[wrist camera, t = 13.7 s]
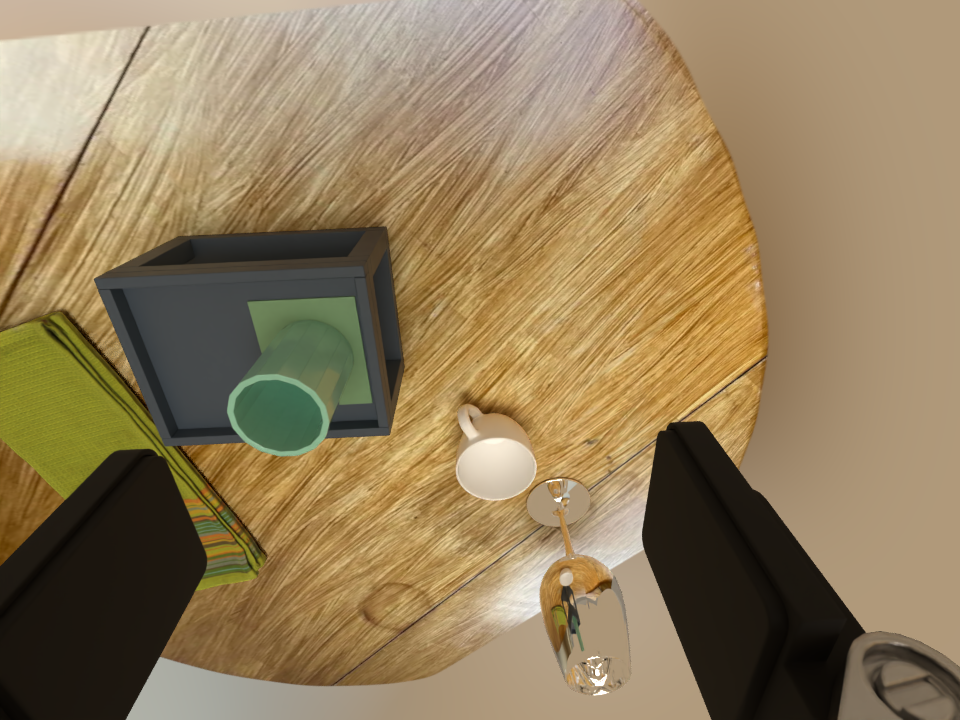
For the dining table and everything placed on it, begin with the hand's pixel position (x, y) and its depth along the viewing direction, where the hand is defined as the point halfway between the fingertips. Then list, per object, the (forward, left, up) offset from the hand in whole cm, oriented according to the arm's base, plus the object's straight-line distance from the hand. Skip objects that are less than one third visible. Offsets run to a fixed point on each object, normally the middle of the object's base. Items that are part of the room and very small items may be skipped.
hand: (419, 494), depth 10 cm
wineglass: (+36, +10, -36) cm, 52 cm away
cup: (+24, +2, -36) cm, 44 cm away
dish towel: (+28, -38, -36) cm, 60 cm away
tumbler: (+10, -11, -26) cm, 30 cm away
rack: (+10, -15, -36) cm, 41 cm away
